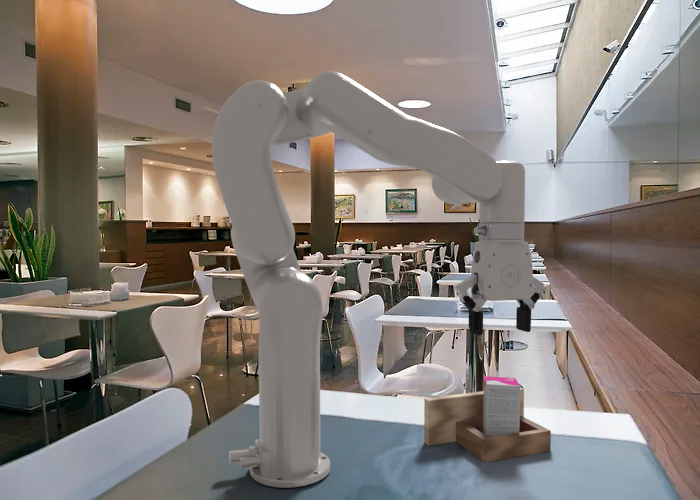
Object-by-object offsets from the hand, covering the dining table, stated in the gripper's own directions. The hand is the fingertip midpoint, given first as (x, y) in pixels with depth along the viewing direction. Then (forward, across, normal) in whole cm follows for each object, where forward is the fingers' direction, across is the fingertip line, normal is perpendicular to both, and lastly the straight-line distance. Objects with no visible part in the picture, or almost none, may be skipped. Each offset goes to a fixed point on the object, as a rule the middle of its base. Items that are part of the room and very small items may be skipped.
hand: (500, 332), depth 95 cm
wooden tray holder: (+20, -2, 0) cm, 20 cm away
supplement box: (+20, 0, 0) cm, 20 cm away
